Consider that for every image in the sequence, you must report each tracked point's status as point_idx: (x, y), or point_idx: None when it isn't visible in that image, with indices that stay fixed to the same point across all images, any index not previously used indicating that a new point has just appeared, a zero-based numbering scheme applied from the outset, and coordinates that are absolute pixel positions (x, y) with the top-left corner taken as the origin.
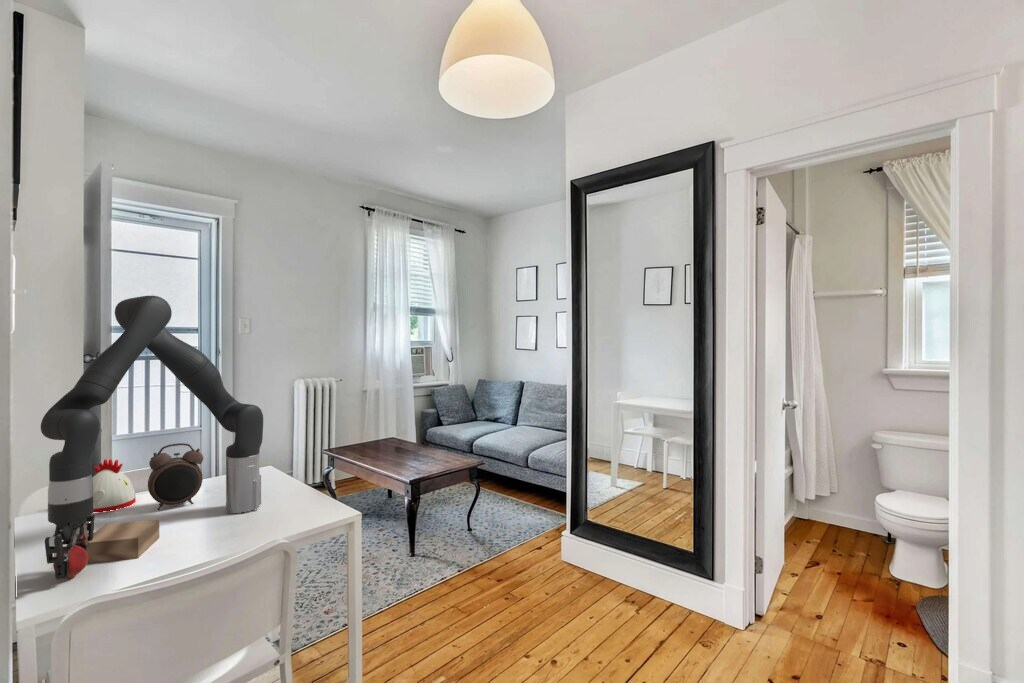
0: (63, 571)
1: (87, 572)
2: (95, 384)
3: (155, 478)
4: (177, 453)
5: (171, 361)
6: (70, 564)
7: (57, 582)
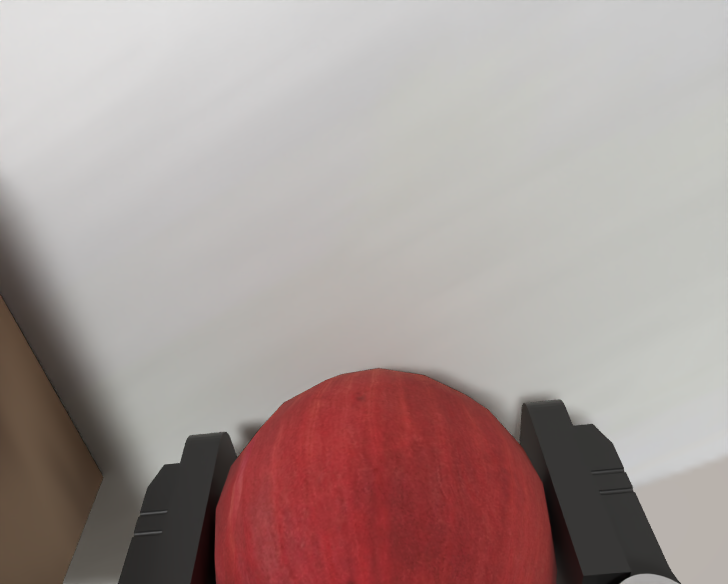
0: (620, 476)
1: (272, 327)
2: None
3: None
4: None
5: None
6: (543, 505)
7: None
